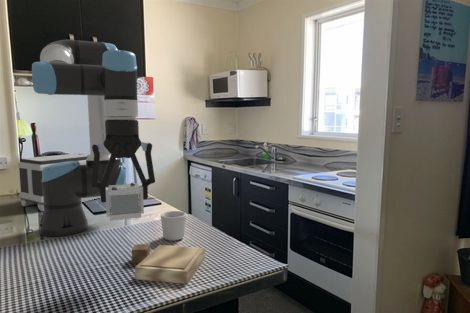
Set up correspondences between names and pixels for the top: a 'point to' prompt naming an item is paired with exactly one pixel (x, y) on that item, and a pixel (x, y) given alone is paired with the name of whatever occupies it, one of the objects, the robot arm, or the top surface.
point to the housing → (124, 201)
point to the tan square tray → (170, 264)
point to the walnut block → (140, 252)
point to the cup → (173, 225)
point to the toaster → (33, 176)
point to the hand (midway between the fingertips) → (125, 213)
